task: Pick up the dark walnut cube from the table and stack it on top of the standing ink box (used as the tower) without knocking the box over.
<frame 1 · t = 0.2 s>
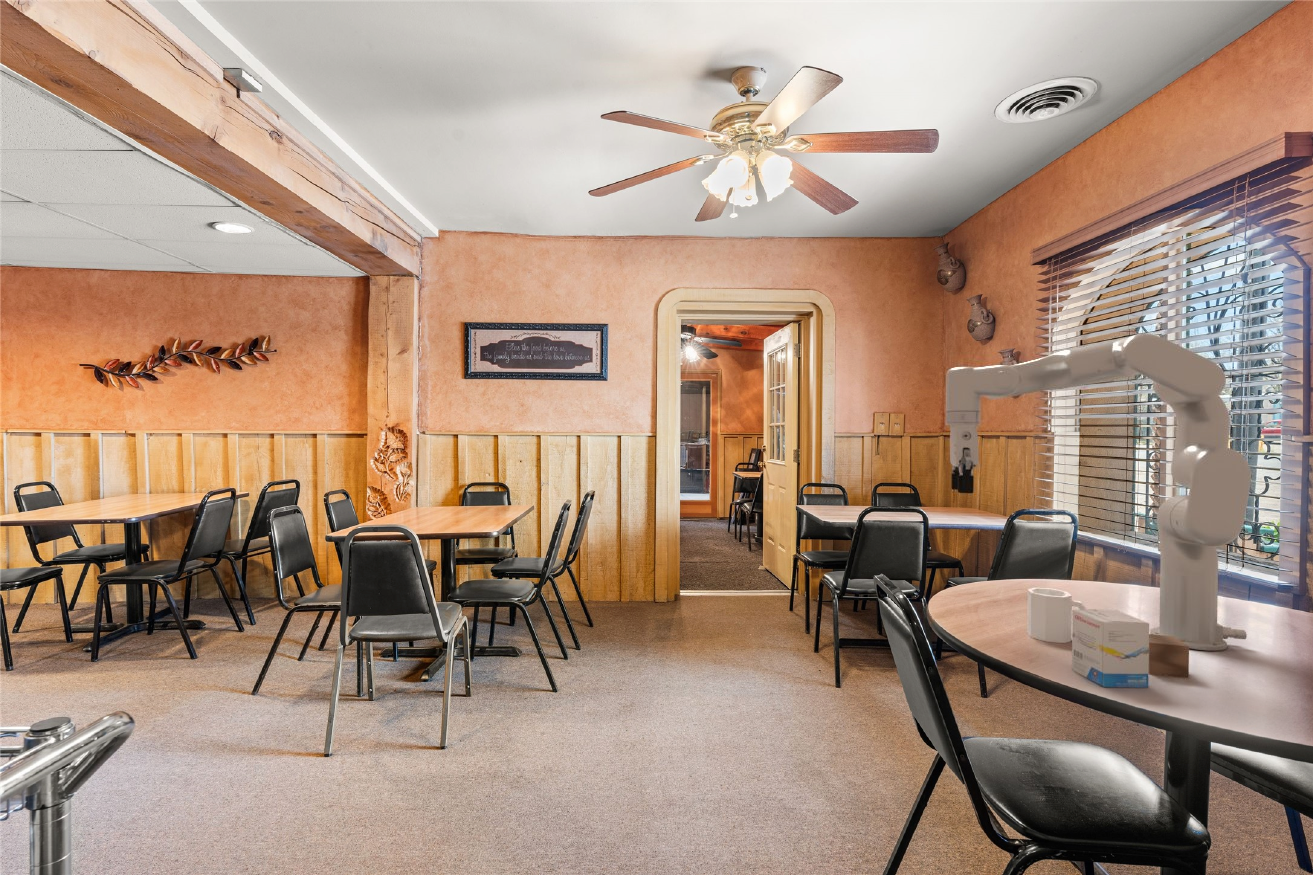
hand: (962, 491, 149), 31 cm above the table, fingers open, 9 cm apart
walnut cube: (1161, 670, 118), on the table
ink box: (1109, 679, 114), on the table
mug: (1058, 639, 137), on the table
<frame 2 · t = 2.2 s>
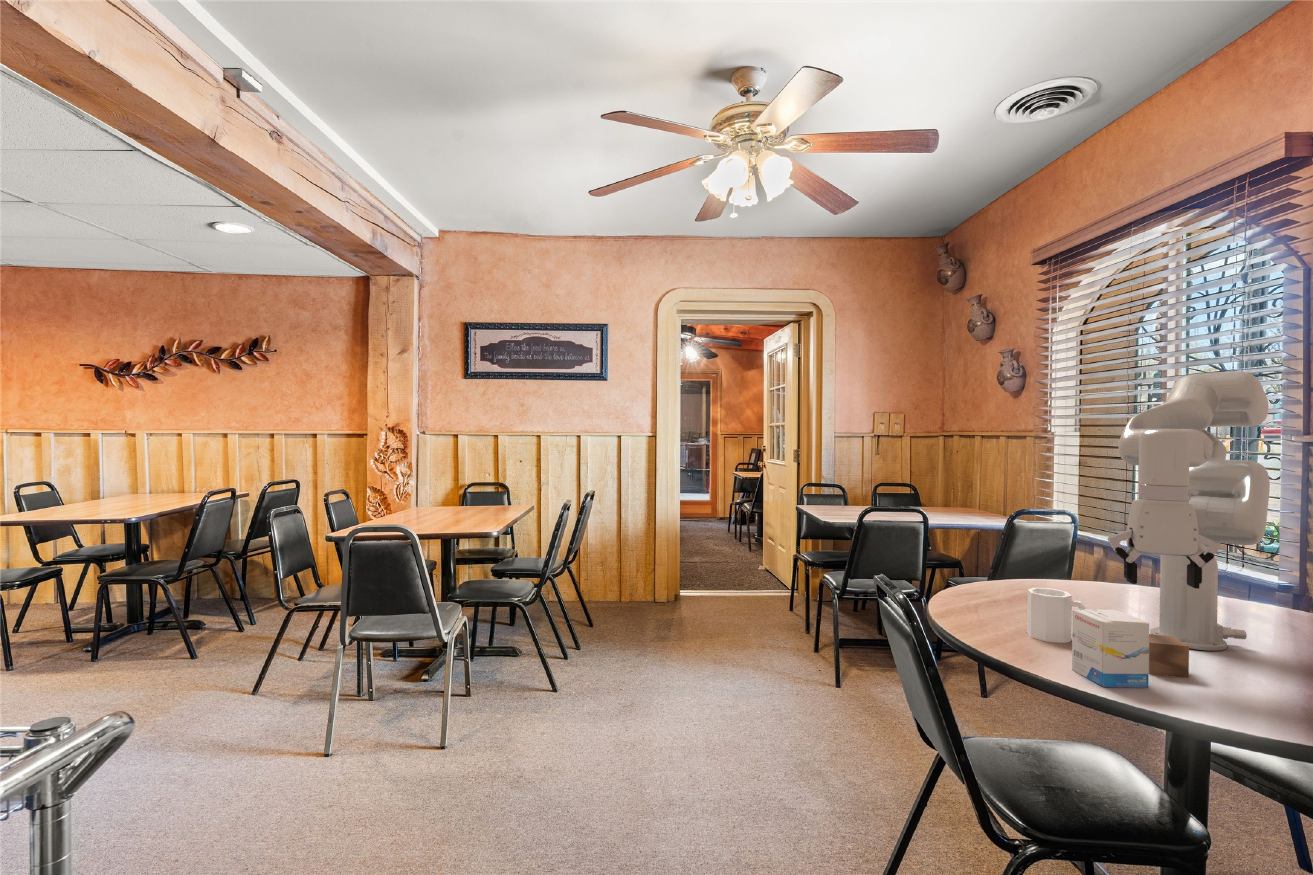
hand: (1161, 584, 118), 16 cm above the table, fingers open, 9 cm apart
nothing on the table moved.
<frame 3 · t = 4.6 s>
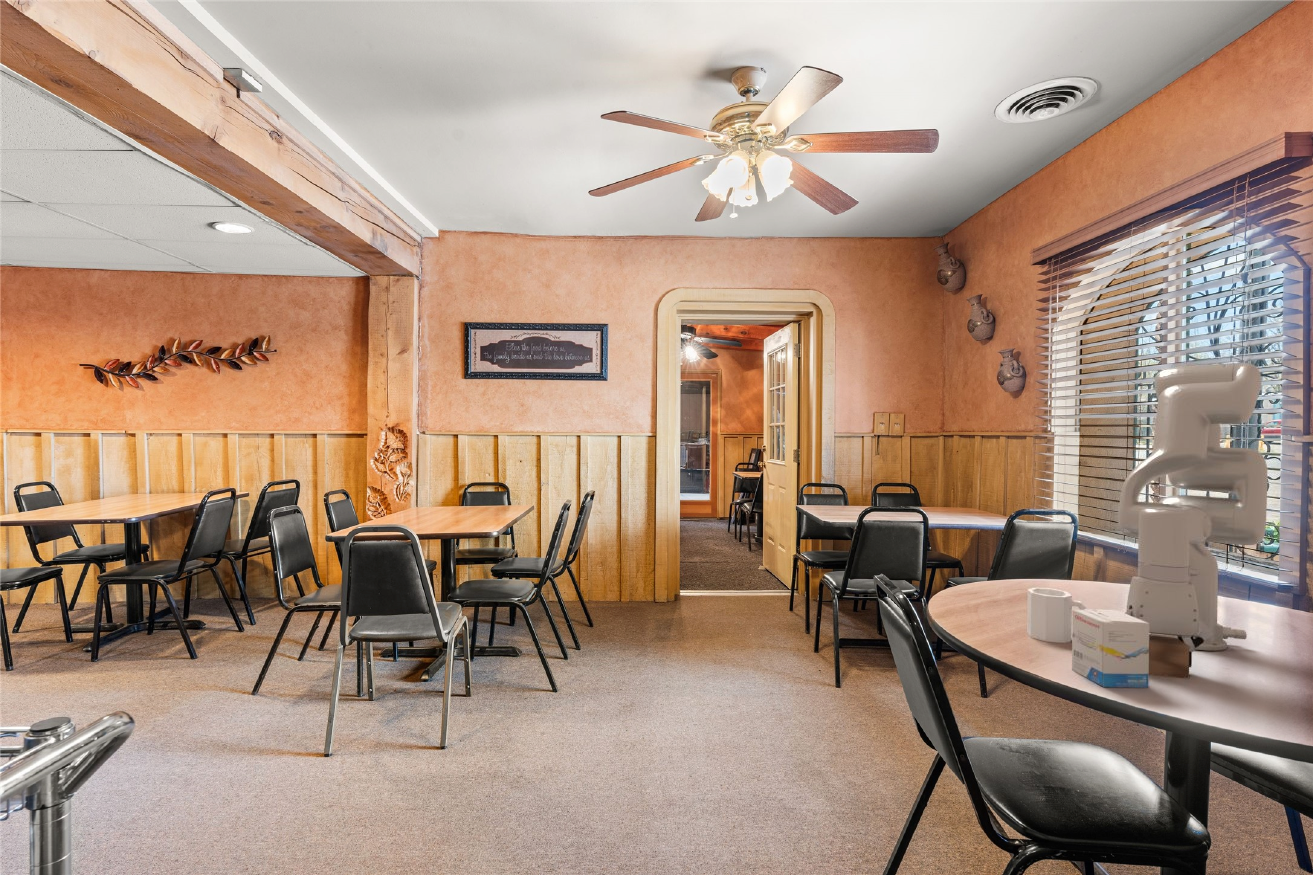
hand: (1161, 667, 118), 1 cm above the table, fingers closed on walnut cube, 6 cm apart
walnut cube: (1161, 670, 118), on the table, touching gripper
everything else where it was.
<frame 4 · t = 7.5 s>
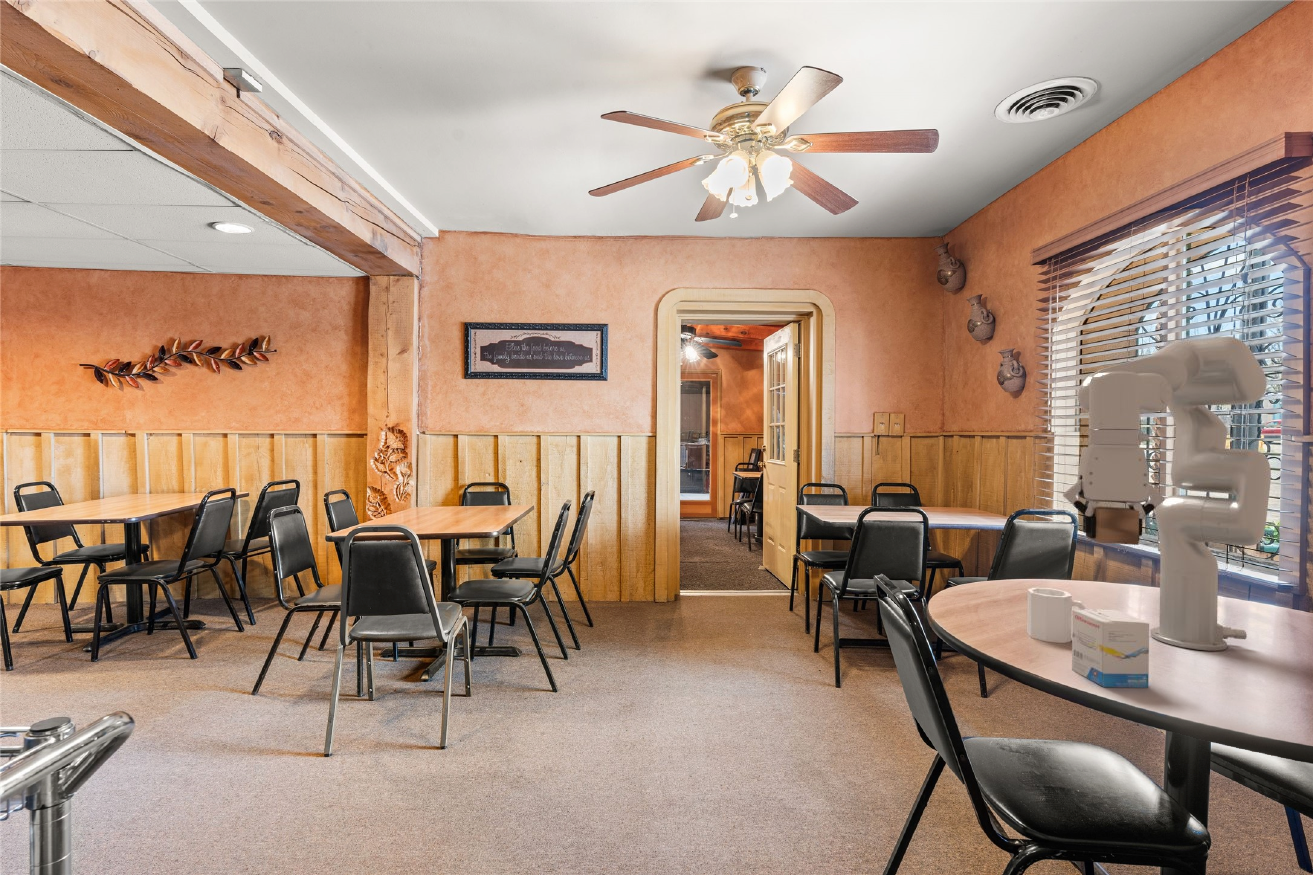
hand: (1111, 537, 114), 26 cm above the table, fingers closed on walnut cube, 6 cm apart
walnut cube: (1112, 541, 114), point 25 cm above the table, touching gripper
everything else where it was.
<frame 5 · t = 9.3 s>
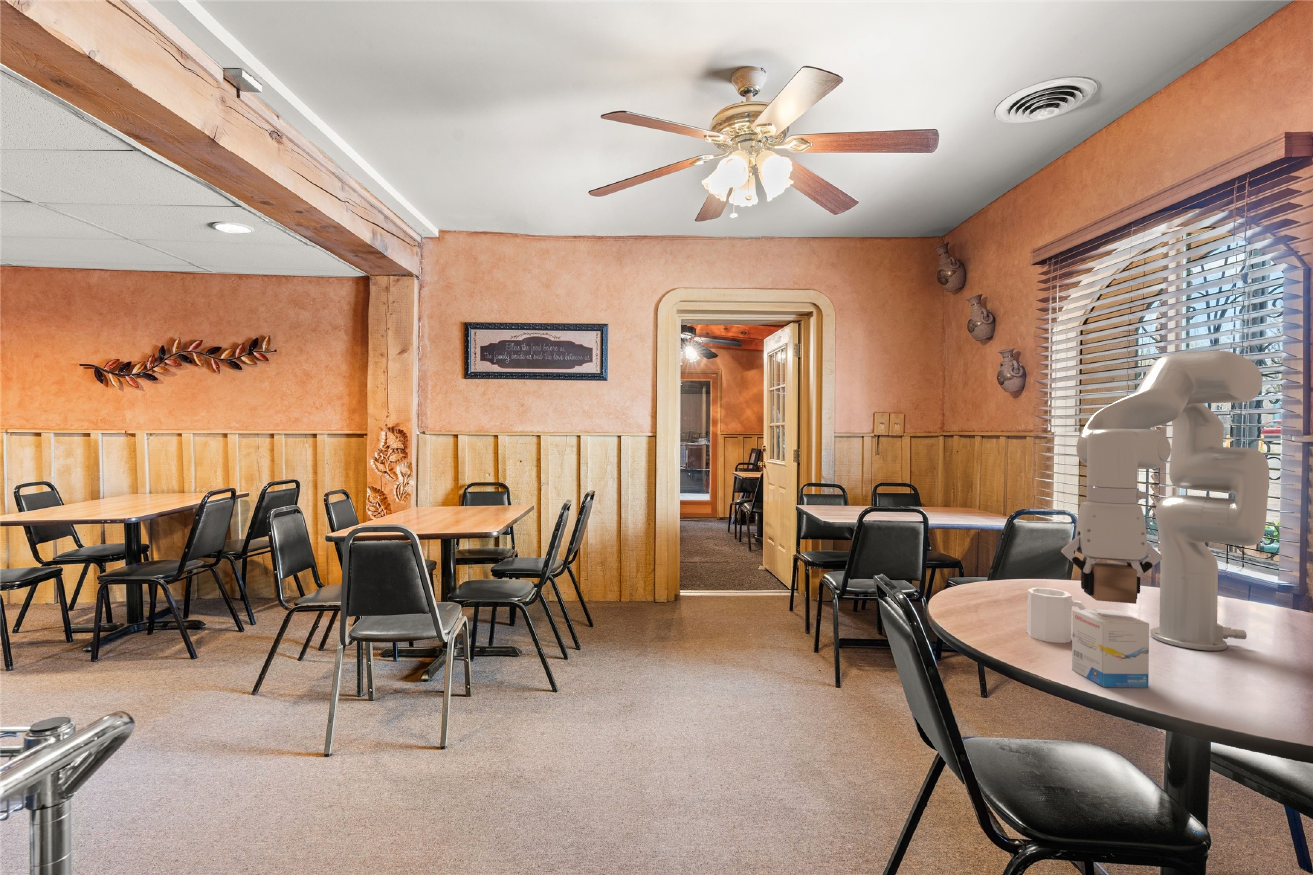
hand: (1109, 594, 114), 15 cm above the table, fingers closed on walnut cube, 6 cm apart
walnut cube: (1110, 598, 114), point 15 cm above the table, touching gripper
everything else where it was.
when the fingers open (14 cm above the table, at t = 10.5 s): walnut cube drops 2 cm, resting on ink box.
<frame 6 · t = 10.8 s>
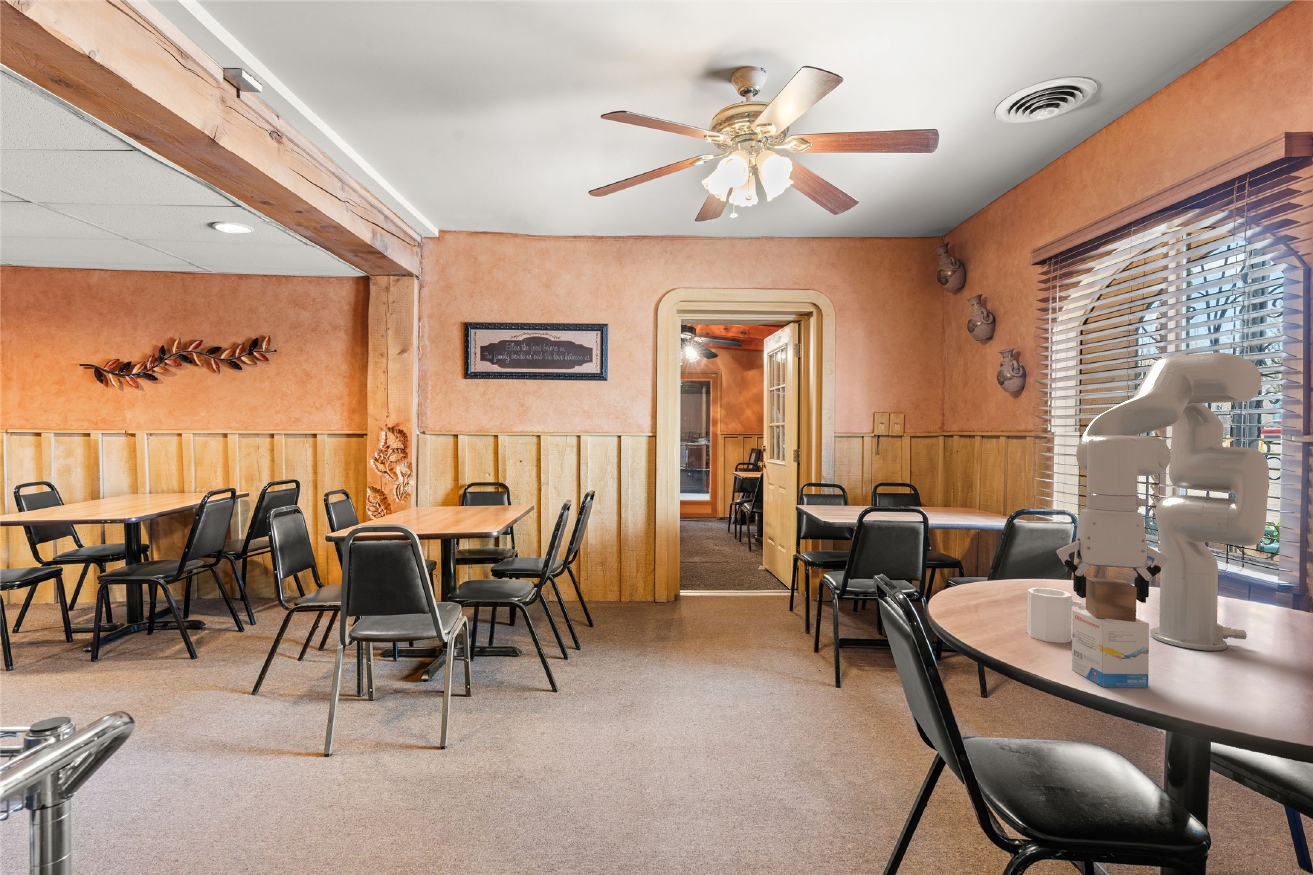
hand: (1110, 598, 114), 15 cm above the table, fingers open, 8 cm apart
walnut cube: (1109, 614, 114), point 12 cm above the table, touching ink box
ink box: (1108, 679, 114), on the table, touching walnut cube
everything else where it was.
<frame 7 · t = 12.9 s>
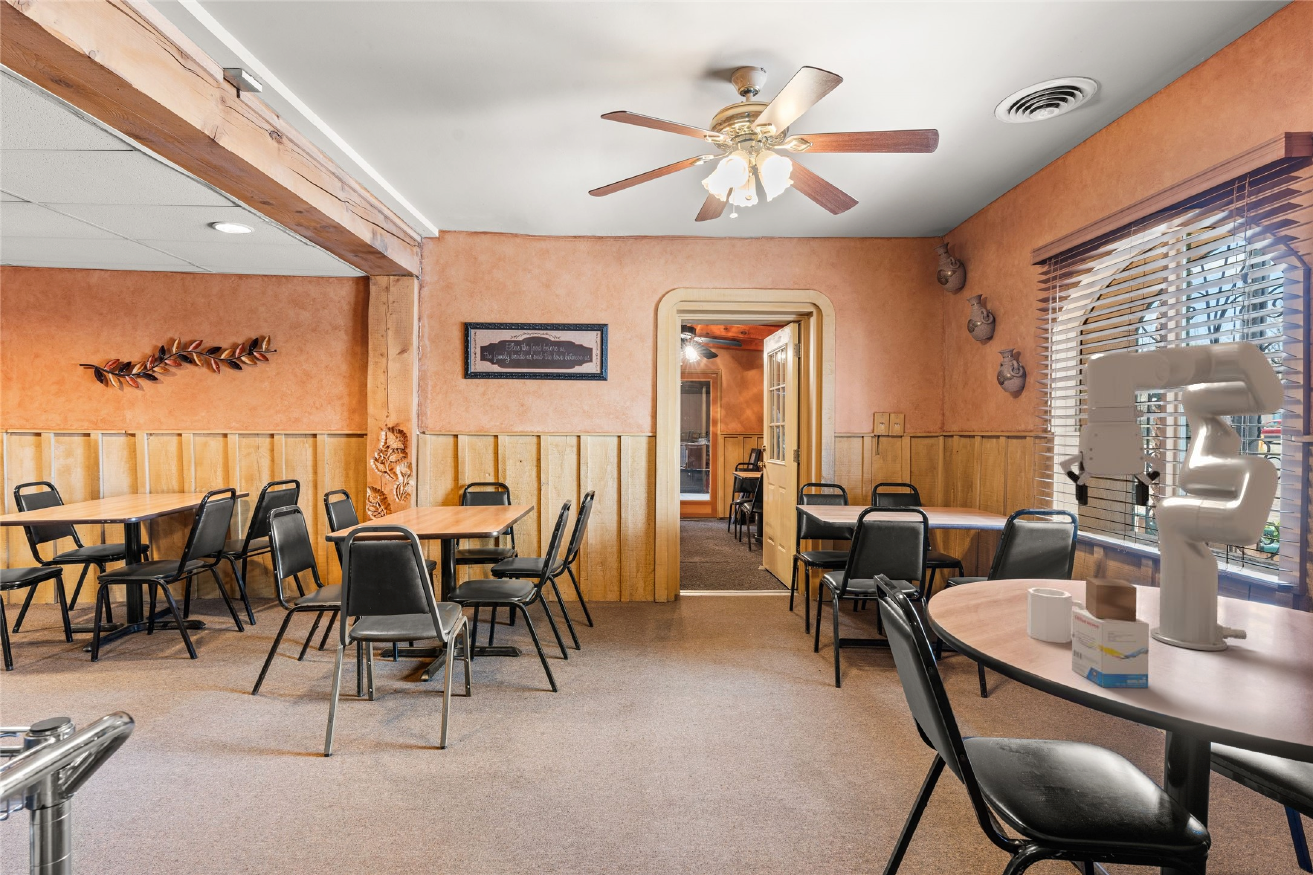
hand: (1111, 504, 121), 31 cm above the table, fingers open, 9 cm apart
nothing on the table moved.
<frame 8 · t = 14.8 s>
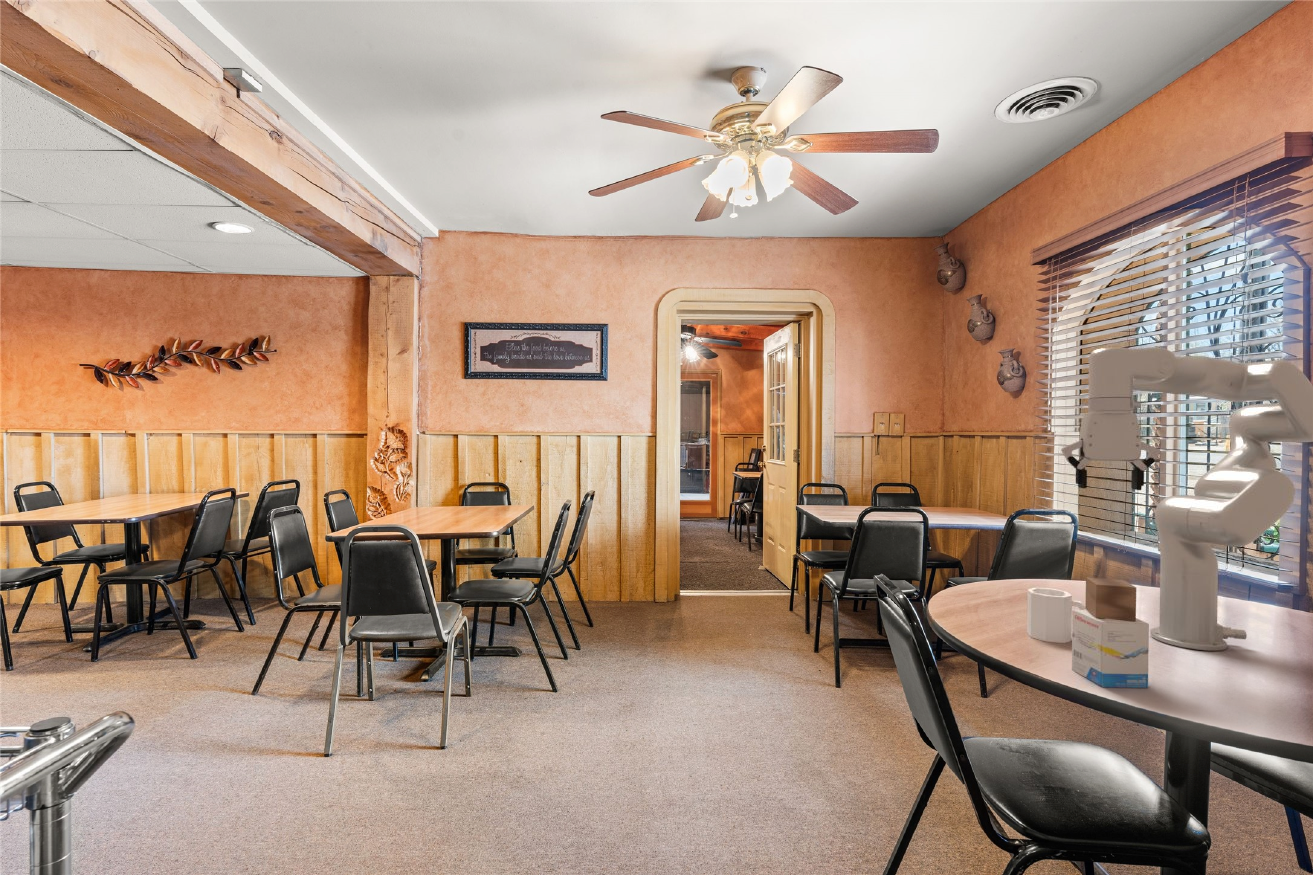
hand: (1109, 488, 131), 33 cm above the table, fingers open, 9 cm apart
nothing on the table moved.
at the end: walnut cube inside the target area on the ink box (0.1 cm from its centre), point 11.9 cm above the ink box's base; ink box tilted 0°; walnut cube touching ink box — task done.
